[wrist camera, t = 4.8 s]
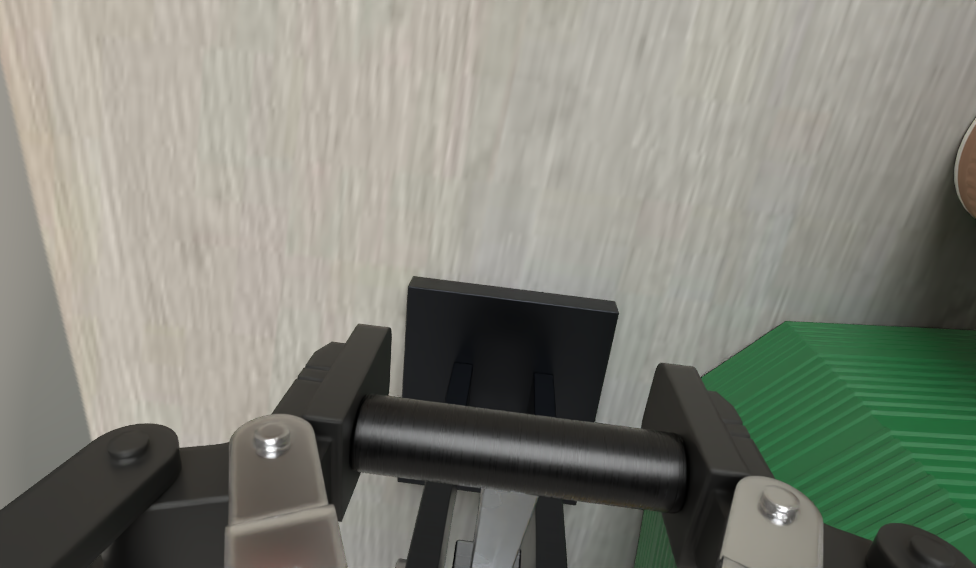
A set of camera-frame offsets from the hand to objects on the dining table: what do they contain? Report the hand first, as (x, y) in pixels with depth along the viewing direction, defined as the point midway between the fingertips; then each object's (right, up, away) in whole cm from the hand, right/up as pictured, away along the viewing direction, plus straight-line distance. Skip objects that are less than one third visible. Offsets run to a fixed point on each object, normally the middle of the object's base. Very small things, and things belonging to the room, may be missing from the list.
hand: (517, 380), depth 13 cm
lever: (0, -4, +3) cm, 5 cm away
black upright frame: (0, -3, +17) cm, 17 cm away
